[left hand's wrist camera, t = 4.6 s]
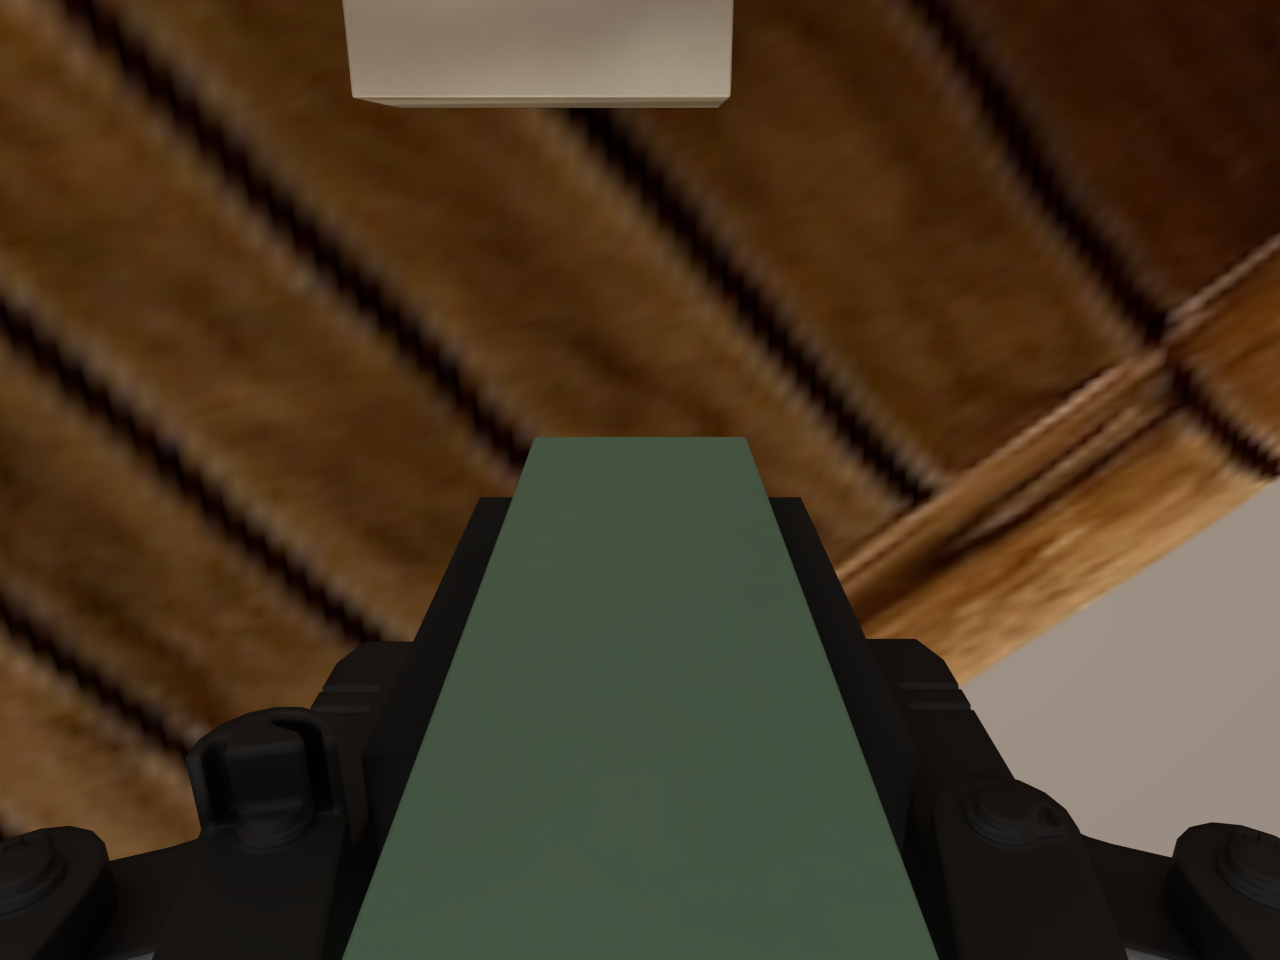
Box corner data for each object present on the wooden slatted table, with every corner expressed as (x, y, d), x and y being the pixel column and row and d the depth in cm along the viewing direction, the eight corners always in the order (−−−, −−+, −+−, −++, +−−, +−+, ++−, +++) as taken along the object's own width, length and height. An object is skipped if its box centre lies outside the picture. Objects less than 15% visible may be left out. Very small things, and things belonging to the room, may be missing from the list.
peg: (542, 622, 17) (349, 1554, 6) (533, 435, 16) (259, 1175, 4) (737, 622, 17) (932, 1556, 6) (746, 436, 16) (1022, 1173, 4)
